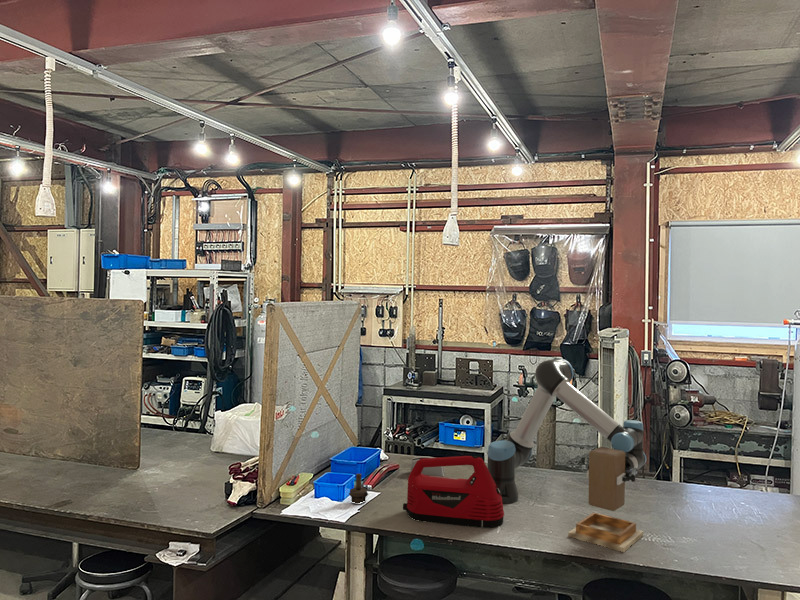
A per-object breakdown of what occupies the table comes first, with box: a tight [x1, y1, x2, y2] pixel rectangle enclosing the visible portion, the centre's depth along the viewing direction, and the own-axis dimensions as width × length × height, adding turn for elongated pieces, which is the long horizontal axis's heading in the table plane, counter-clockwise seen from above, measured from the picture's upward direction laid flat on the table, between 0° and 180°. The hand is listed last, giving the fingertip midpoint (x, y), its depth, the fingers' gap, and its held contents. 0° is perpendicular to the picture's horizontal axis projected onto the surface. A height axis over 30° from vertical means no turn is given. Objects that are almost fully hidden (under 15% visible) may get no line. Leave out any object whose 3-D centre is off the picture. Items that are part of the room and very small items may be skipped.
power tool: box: [402, 455, 505, 529], centre depth 232 cm, size 16×40×25 cm, turn 75°
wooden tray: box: [567, 512, 644, 553], centre depth 217 cm, size 20×20×4 cm
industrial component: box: [348, 473, 369, 503], centre depth 247 cm, size 9×7×12 cm
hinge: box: [409, 455, 446, 477], centre depth 289 cm, size 17×5×10 cm, turn 78°
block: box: [588, 446, 626, 512], centre depth 217 cm, size 10×10×20 cm
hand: (602, 477), depth 214 cm, fingers closed on block, 10 cm apart
